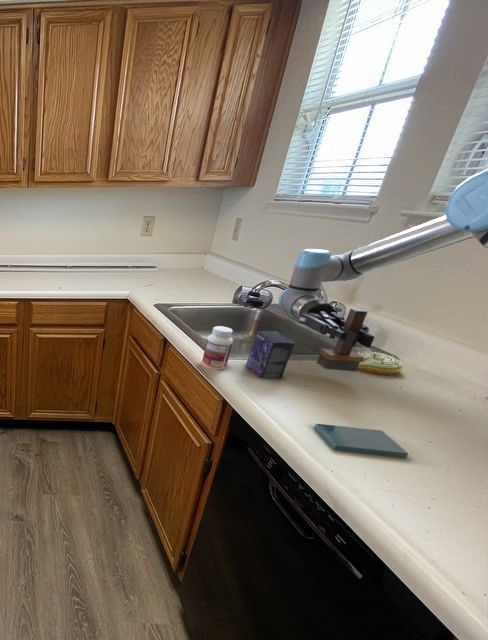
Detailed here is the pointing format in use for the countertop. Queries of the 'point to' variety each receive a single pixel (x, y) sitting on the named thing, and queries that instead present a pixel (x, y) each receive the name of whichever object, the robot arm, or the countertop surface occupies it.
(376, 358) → the decorated donut
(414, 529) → the countertop surface
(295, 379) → the countertop surface
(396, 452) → the tile
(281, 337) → the box
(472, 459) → the countertop surface
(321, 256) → the robot arm
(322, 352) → the brush
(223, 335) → the pill bottle
